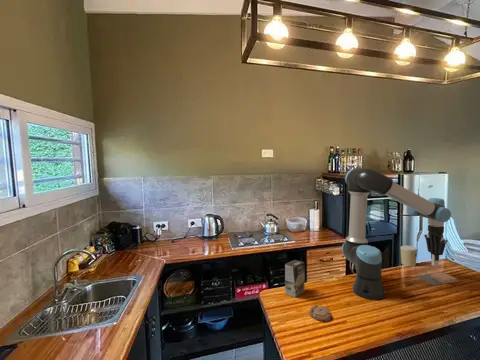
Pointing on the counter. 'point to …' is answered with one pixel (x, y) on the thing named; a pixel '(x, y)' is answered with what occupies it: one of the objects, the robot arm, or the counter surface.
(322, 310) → the cookie
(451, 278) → the tile
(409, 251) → the coffee cup
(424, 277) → the slate board
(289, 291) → the coffee box
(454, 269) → the counter surface
